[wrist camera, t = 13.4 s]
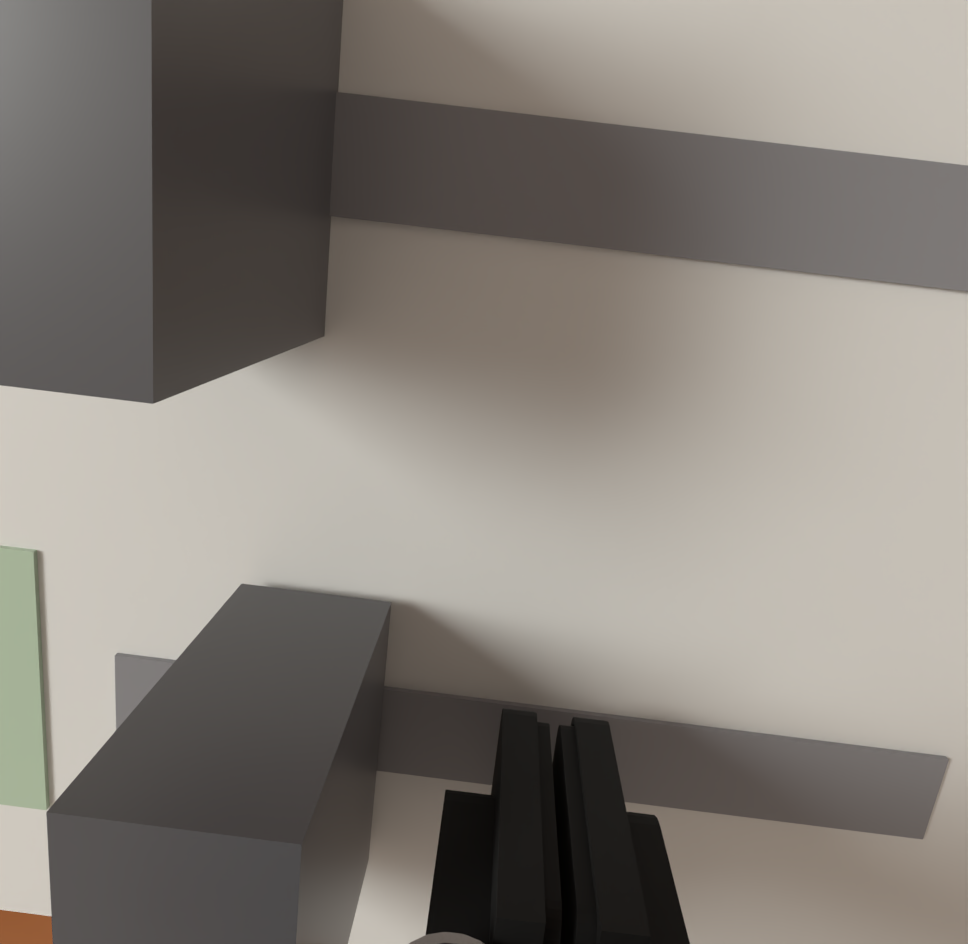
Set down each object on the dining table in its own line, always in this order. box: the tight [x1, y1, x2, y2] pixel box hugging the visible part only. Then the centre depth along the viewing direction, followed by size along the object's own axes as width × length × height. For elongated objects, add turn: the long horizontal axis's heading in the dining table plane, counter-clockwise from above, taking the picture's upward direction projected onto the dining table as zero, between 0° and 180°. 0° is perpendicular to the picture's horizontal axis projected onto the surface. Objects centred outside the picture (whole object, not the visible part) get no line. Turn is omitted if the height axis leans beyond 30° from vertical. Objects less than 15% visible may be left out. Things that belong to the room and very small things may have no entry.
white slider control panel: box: [0, 0, 968, 944], centre depth 10 cm, size 24×19×8 cm
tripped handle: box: [46, 584, 391, 944], centre depth 10 cm, size 2×5×5 cm, turn 174°
